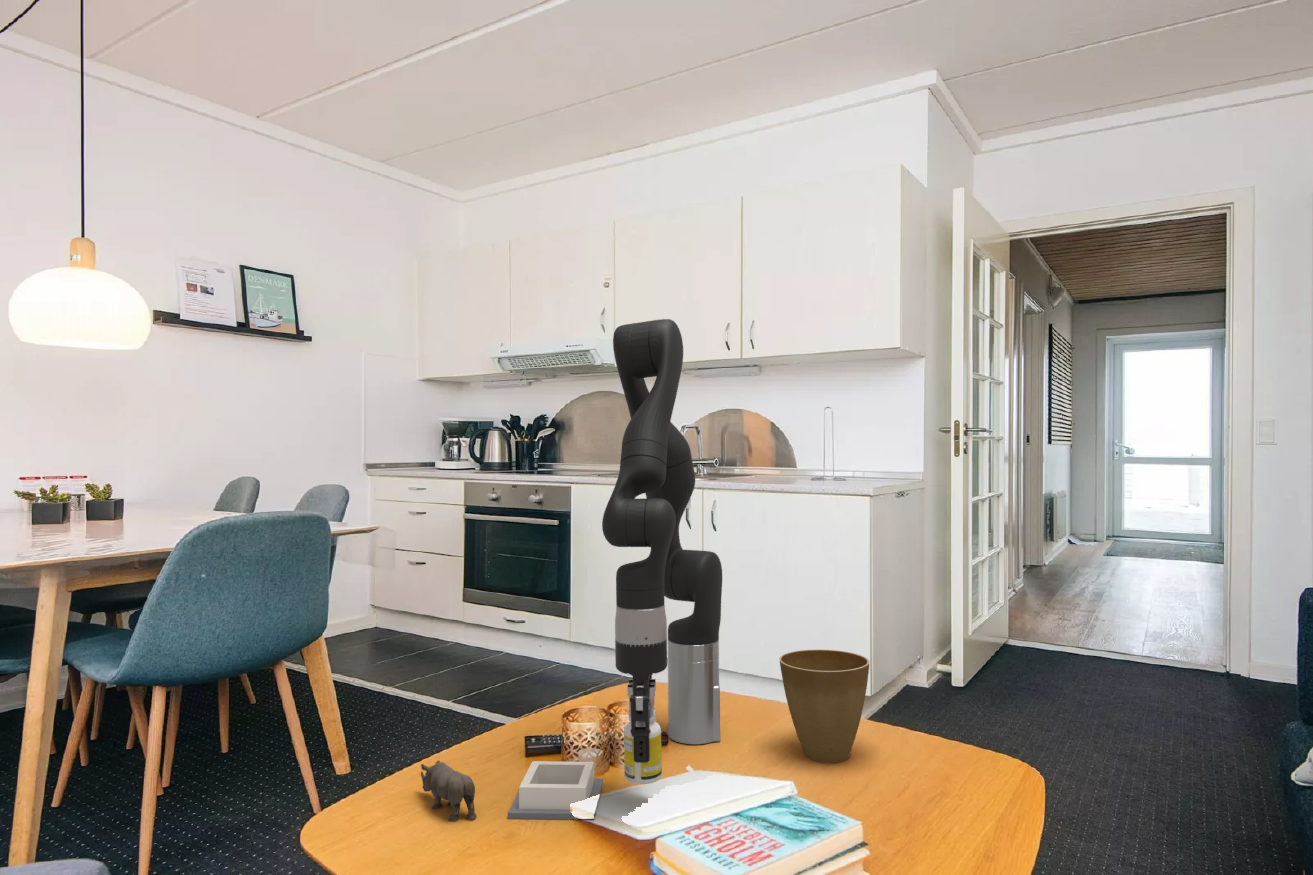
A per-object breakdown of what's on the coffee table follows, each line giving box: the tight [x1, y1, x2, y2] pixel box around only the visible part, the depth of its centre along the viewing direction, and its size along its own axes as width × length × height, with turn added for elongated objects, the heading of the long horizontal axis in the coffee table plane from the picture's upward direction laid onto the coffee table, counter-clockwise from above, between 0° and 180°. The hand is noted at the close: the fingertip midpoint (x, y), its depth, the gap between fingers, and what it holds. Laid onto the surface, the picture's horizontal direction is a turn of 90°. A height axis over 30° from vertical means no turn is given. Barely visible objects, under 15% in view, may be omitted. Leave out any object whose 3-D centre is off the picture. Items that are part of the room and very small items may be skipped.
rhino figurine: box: [420, 760, 477, 822], centre depth 112 cm, size 4×14×6 cm, turn 43°
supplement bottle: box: [623, 706, 663, 785], centre depth 113 cm, size 5×5×10 cm
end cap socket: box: [507, 760, 604, 821], centre depth 114 cm, size 12×12×4 cm
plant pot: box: [778, 649, 871, 763], centre depth 131 cm, size 15×15×16 cm
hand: (642, 752), depth 113 cm, fingers closed on supplement bottle, 5 cm apart
